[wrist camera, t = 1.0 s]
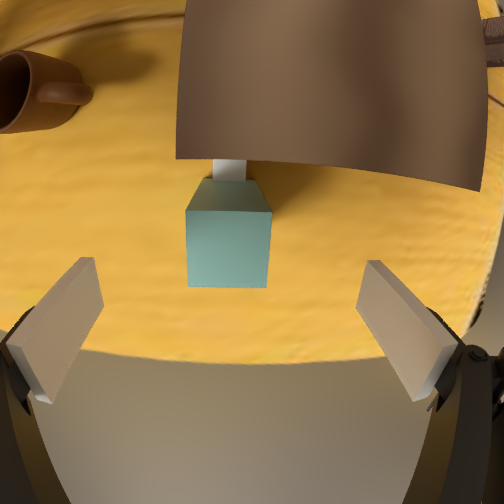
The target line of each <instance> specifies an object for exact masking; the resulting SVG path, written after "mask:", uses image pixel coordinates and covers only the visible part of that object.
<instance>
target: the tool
mask: <svg viewBox="0 0 504 504" xmlns="http://www.w3.org/2000/svg"><path fill="white" fill-rule="evenodd" d="M246 162H247V160H228V159H213V179H212V178H203V180H202V181H201V183H200V185H199V187H198V189H197V190H196V192H195V194H194V196H193V198H192V199H191V201H190V203H189V205H188V207H187V209H186V248H187V271H188V287H219V288H266V285H267V274H268V262H269V249H270V237H271V224H272V211H271V209H270V207H269V205H268V203H267V201H266V200H265V198H264V196H263V194H262V192H261V190H260V188H259V186H258V185H257V183H256V181H255V180H251V179H246Z"/></svg>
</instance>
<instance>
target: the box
mask: <svg viewBox="0 0 504 504" xmlns="http://www.w3.org/2000/svg"><path fill="white" fill-rule="evenodd" d="M481 22H482V29H483V35H484V43H485V52H486V63H487V67H504V16H500V17H495V18H489V19H484V20H481Z"/></svg>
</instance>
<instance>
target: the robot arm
mask: <svg viewBox="0 0 504 504" xmlns="http://www.w3.org/2000/svg"><path fill="white" fill-rule="evenodd" d="M103 307H104V304H103V300H102V295H101V291H100V286H99V281H98V276H97V271H96V266H95V261H94V257H81V258H80V259H79V260H78V261H77V262H76V263H75V264H74V265H73V266H72V267H71V268H70V269H69V270H68V271H67V272H66V273H65V274H64V275H63V276H62V277H61V278H60V279H59V280H58V281H57V283H56V284H55V285H54V286H53V287H52V288H51V289H50V290H49V291H48V292H47V294H46V295H45V296H44V297H43V298H42V299H41V300H40V301H39V303H38V304H37V305H36V306H33V307H32V308H31V309H29V310H28V311H26V312H25V313H24V314H23V315H22V317H21V318H20V319H19V321H17V323H16V324H15V325H14V327H12V329H11V330H10V331H9V332H8V334H7V335H6V336H5V338H4V339H3V340H2V342H1V343H0V504H71V503H70V501H69V499H68V497H67V495H66V493H65V491H64V489H63V487H62V485H61V483H60V481H59V479H58V477H57V474H56V472H55V470H54V467H53V465H52V463H51V460H50V458H49V455H48V453H47V450H46V448H45V445H44V442H43V439H42V437H41V434H40V431H39V428H38V425H37V422H36V419H35V415H34V412H33V409H32V405H31V401H30V400H29V398H28V396H27V395H28V393H29V391H30V389H31V391H32V392H33V394H34V396H35V397H36V399H37V400H40V401H43V402H47V403H50V404H53V402H54V399H55V397H56V395H57V393H58V391H59V389H60V387H61V385H62V383H63V381H64V379H65V376H66V375H67V372H68V371H69V369H70V367H71V365H72V363H73V361H74V359H75V357H76V355H77V353H78V351H79V350H80V348H81V346H82V344H83V342H84V340H85V339H86V337H87V335H88V333H89V331H90V330H91V328H92V326H93V324H94V323H95V321H96V319H97V318H98V316H99V314H100V312H101V311H102V309H103ZM356 309H357V311H358V312H359V314H360V315H361V317H362V318H363V320H364V321H365V323H366V325H367V326H368V328H369V329H370V331H371V332H372V334H373V336H374V337H375V339H376V340H377V342H378V344H379V345H380V347H381V348H382V350H383V352H384V353H385V355H386V357H387V358H388V360H389V362H390V363H391V365H392V367H393V368H394V370H395V372H396V373H397V375H398V377H399V378H400V380H401V382H402V383H403V385H404V387H405V389H406V390H407V392H408V394H409V396H410V397H411V399H412V401H416V400H420V399H423V398H426V397H428V396H429V394H430V393H431V391H432V390H433V388H434V386H435V388H436V389H437V391H438V393H437V395H436V396H435V398H434V400H433V401H432V403H431V404H430V406H429V407H428V409H427V411H428V412H429V410H430V409H431V408H432V407H433V408H432V413H431V417H430V422H429V426H428V429H427V433H426V437H425V440H424V444H423V447H422V450H421V454H420V457H419V460H418V463H417V466H416V469H415V472H414V475H413V478H412V480H411V483H410V485H409V488H408V491H407V493H406V496H405V498H404V500H403V503H402V504H481V501H482V504H504V402H503V403H501V400H500V398H501V397H502V396H503V394H504V347H503V348H502V350H501V351H500V353H499V355H498V356H489V355H488V354H487V352H486V351H485V350H484V349H482V348H481V347H479V346H476V345H467V346H466V345H465V344H464V343H463V342H462V340H461V339H460V338H459V337H458V336H457V335H456V334H455V332H454V331H453V330H452V329H451V328H450V327H448V325H447V324H446V323H445V321H444V322H443V319H442V318H441V317H440V316H439V315H438V314H437V313H436V312H434V311H433V310H431V309H430V308H428V307H425V306H424V304H423V303H422V302H421V301H420V300H419V299H418V298H417V297H416V296H415V295H414V294H413V293H412V292H411V291H410V290H409V289H408V288H407V287H406V286H405V285H404V284H403V283H402V282H401V281H400V280H399V279H398V278H397V277H396V276H395V275H394V274H393V273H392V272H391V271H390V270H389V269H388V268H387V267H386V266H385V265H384V264H383V263H382V262H381V261H380V260H367V262H366V267H365V271H364V276H363V280H362V284H361V288H360V293H359V297H358V301H357V305H356Z"/></svg>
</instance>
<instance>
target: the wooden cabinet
mask: <svg viewBox="0 0 504 504" xmlns="http://www.w3.org/2000/svg"><path fill="white" fill-rule="evenodd" d="M487 120H488V80H487V63H486V52H485V43H484V35H483V29H482V22H481V17H480V12H479V7H478V2H477V0H187V2H186V9H185V17H184V26H183V35H182V45H181V55H180V68H179V82H178V99H177V122H176V159H228V160H256V161H275V162H290V163H302V164H314V165H324V166H334V167H343V168H351V169H359V170H366V171H373V172H380V173H387V174H393V175H399V176H405V177H411V178H416V179H422V180H427V181H432V182H437V183H442V184H447V185H451V186H456V187H460V188H465V189H469V190H473V191H477V192H480V188H481V181H482V175H483V167H484V159H485V150H486V138H487Z"/></svg>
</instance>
